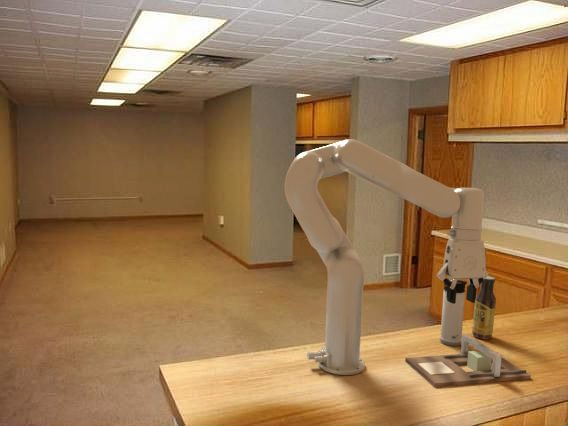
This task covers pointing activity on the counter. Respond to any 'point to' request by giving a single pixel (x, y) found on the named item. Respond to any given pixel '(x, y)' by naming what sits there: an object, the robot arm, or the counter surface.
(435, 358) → the board
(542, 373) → the counter surface
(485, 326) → the sauce bottle
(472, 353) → the block
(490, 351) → the gate
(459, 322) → the travel mug
